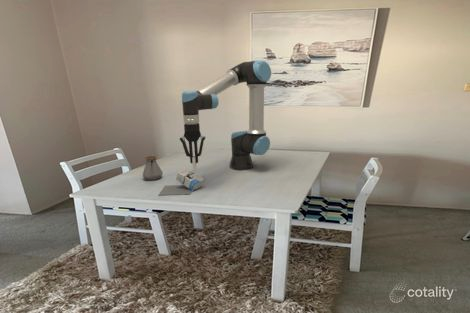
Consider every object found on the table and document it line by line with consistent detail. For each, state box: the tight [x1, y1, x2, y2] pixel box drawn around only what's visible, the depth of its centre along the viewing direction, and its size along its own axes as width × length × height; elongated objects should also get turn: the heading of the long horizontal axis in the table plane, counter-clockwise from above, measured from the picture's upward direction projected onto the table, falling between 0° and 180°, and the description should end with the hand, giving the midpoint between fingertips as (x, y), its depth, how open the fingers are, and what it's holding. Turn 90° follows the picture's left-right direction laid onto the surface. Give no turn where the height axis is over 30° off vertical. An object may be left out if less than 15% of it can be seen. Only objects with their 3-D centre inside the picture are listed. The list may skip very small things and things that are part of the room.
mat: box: [158, 184, 193, 197], centre depth 157 cm, size 16×14×1 cm
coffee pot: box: [142, 155, 164, 181], centre depth 172 cm, size 21×12×15 cm, turn 18°
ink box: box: [175, 167, 205, 192], centre depth 159 cm, size 8×5×12 cm
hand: (194, 169), depth 154 cm, fingers closed
